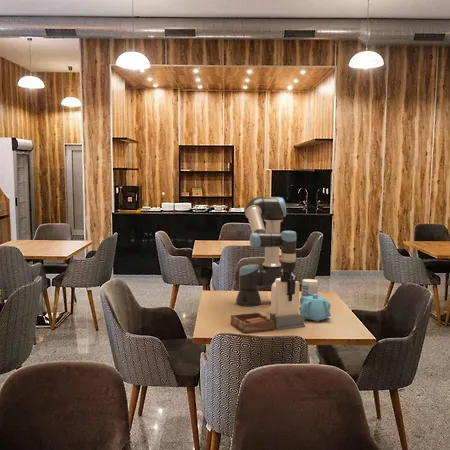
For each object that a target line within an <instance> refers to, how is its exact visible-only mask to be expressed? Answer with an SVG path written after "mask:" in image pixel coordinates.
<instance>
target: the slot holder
mask: <svg viewBox="0 0 450 450" xmlns="http://www.w3.org/2000/svg"><path fill="white" fill-rule="evenodd" d="M269 319H271V320H272V321H274V330H277V331H279V330H281V331H282V330H288V329H297V328H306V324H305V319H304V314H300V313H299V315H289V316H279V317H275V313H274V314H272V313H269Z"/></svg>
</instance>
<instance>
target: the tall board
mask: <svg viewBox="0 0 450 450" xmlns="http://www.w3.org/2000/svg"><path fill="white" fill-rule="evenodd" d="M286 294H288V290H287V282H276V309H275V317H279V316H289V315H299V314H300V310H299V308H300V281H297V280H296V283H295V294H293V295H292V307H286V304H287V295H286Z"/></svg>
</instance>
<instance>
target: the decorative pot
mask: <svg viewBox="0 0 450 450" xmlns="http://www.w3.org/2000/svg"><path fill="white" fill-rule="evenodd" d="M303 298H305V299H304V301H303V302H302V299H303ZM299 305H300V306H299V314H304V320H311V321H314V322H320V321H323V320H325V319H327V318H330V317H331V316H332V313H331V311H330V309H331V307H332V306H331V302H330V301H328V300H327V298H326V297H324V296H323V295H321V296H319V294H318V293H317V294H312V296H308V297H305V296H304V297H301V296H300V297H299Z"/></svg>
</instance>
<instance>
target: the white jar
mask: <svg viewBox="0 0 450 450" xmlns="http://www.w3.org/2000/svg"><path fill="white" fill-rule="evenodd" d="M276 282H281V278H277V279H275V282H274V283H273V284H272V286H270V287H271V292H270V293H271V294H270V299H271V300H270V314H274V313H275V309H276Z"/></svg>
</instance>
